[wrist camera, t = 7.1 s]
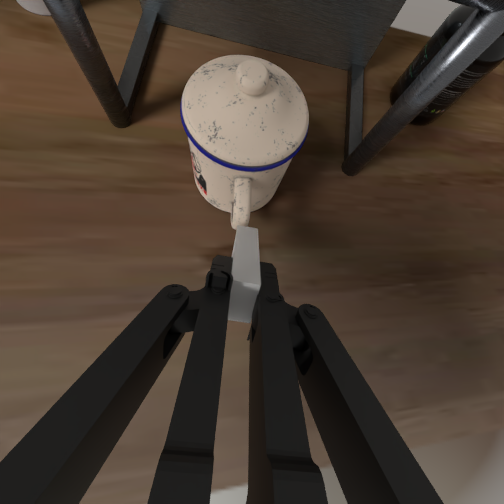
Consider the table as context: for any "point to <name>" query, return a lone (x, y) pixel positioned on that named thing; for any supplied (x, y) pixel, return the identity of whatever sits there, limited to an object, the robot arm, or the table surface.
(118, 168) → the table surface
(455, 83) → the supplement bottle
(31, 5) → the coffee cup
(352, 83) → the box
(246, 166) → the teacup with lid
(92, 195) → the table surface
